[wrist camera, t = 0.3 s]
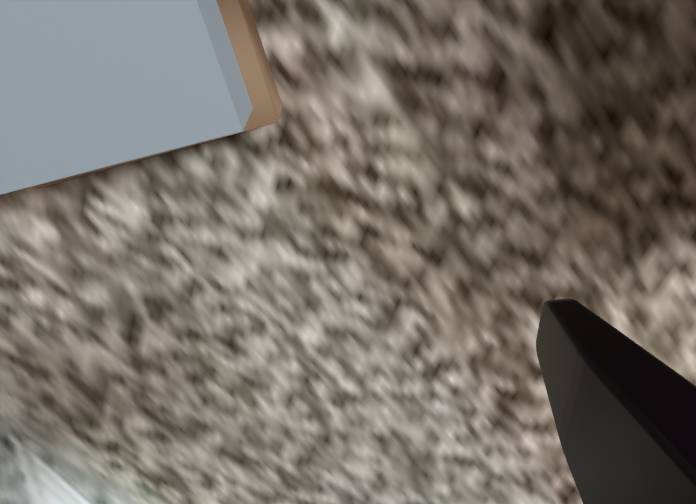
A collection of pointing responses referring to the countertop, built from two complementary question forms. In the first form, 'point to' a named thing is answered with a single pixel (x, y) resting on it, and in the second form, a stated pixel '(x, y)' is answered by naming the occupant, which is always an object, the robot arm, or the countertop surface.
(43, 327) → the countertop surface
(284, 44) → the countertop surface
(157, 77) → the grey top slab
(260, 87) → the walnut base slab
